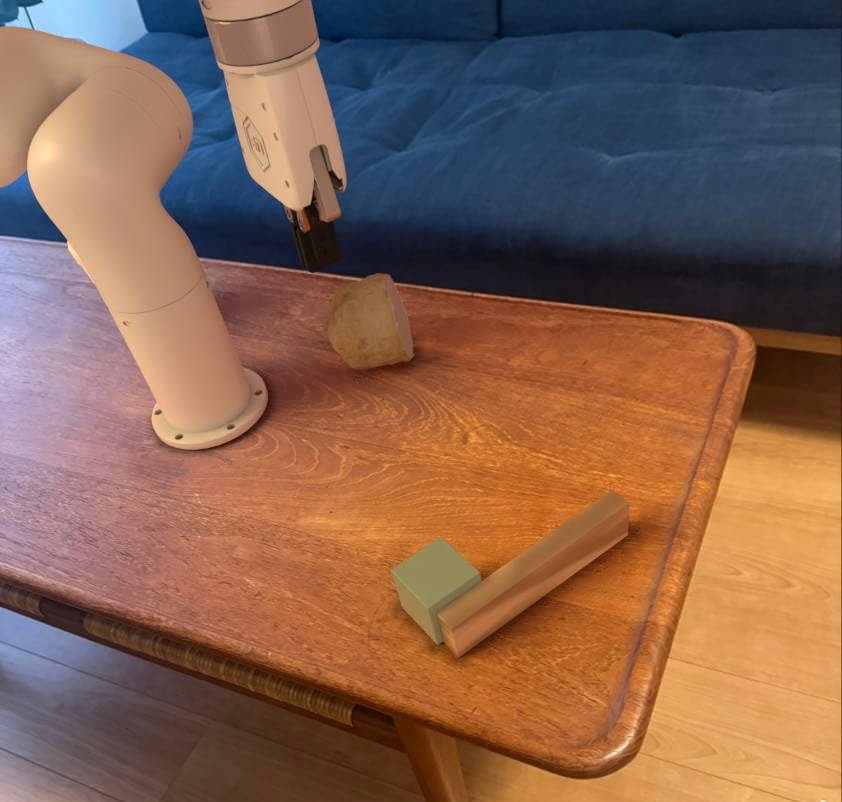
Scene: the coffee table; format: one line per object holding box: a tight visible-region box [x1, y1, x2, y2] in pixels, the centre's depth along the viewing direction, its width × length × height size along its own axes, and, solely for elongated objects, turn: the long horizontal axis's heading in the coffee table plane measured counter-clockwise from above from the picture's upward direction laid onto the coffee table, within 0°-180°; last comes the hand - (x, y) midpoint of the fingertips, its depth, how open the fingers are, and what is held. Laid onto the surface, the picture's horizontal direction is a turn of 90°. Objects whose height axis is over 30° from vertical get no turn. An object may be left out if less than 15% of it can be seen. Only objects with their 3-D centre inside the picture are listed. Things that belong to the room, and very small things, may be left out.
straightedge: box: [436, 489, 631, 658], centre depth 65 cm, size 2×18×4 cm, turn 126°
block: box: [390, 536, 483, 646], centre depth 64 cm, size 5×5×5 cm
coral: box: [326, 272, 415, 370], centre depth 86 cm, size 10×10×10 cm
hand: (321, 263), depth 72 cm, fingers closed
